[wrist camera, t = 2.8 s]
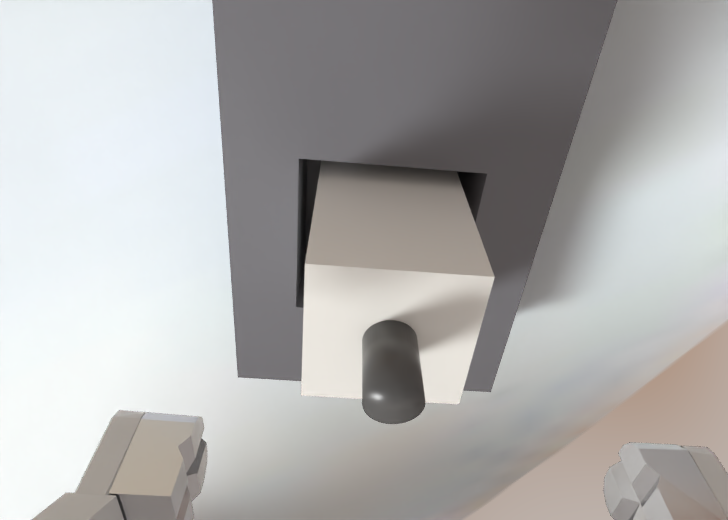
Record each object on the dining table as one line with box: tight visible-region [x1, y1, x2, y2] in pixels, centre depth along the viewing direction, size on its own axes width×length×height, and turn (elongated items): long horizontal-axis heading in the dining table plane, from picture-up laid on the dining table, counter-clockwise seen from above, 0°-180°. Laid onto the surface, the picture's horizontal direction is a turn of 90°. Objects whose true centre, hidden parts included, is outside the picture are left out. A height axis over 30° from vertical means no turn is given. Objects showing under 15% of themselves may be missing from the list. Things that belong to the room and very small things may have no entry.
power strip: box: [212, 0, 617, 392], centre depth 15 cm, size 24×10×5 cm, turn 175°
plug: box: [301, 160, 495, 424], centre depth 16 cm, size 4×4×10 cm
